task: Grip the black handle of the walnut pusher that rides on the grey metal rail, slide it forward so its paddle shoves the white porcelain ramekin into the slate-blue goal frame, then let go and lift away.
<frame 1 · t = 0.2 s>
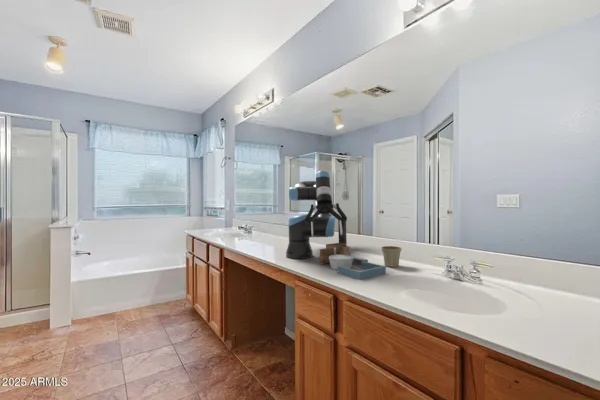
hand: (326, 234, 136), 16 cm above the counter, tool tilted 35°, fingers open, 13 cm apart
goal frame: (360, 272, 126), on the counter
ramekin: (341, 268, 136), on the counter
flower pot: (391, 266, 137), on the counter
pusher: (333, 240, 147), point 11 cm above the counter, slide at 0.0 cm
rail: (351, 262, 145), on the counter
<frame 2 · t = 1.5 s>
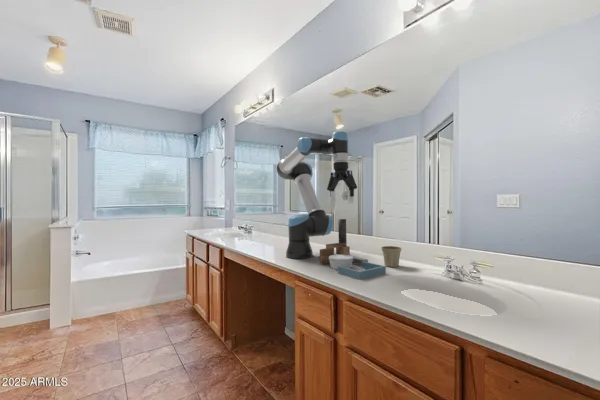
hand: (341, 203, 150), 30 cm above the counter, tool pointing down, fingers open, 13 cm apart
nothing on the counter moved.
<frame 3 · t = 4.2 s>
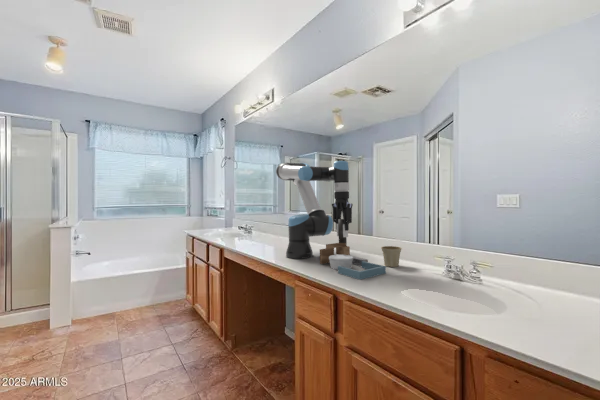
hand: (342, 236, 150), 13 cm above the counter, tool pointing down, fingers closed on pusher, 4 cm apart
pusher: (333, 240, 147), point 11 cm above the counter, slide at 0.0 cm, touching gripper
everything else where it was.
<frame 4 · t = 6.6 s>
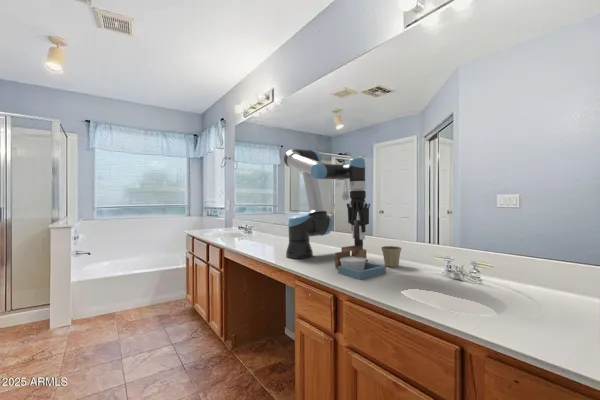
hand: (358, 238, 141), 13 cm above the counter, tool pointing down, fingers closed on pusher, 4 cm apart
ramekin: (353, 271, 130), on the counter, touching pusher
pusher: (349, 243, 137), point 11 cm above the counter, slide at 11.5 cm, touching gripper, ramekin
everything else where it was.
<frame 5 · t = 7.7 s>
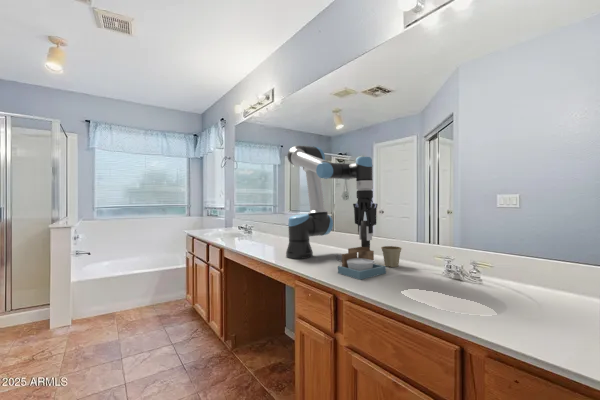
hand: (365, 239, 137), 13 cm above the counter, tool pointing down, fingers closed on pusher, 4 cm apart
ramekin: (360, 273, 126), on the counter
pusher: (356, 244, 134), point 11 cm above the counter, slide at 16.0 cm, touching gripper
everything else where it was.
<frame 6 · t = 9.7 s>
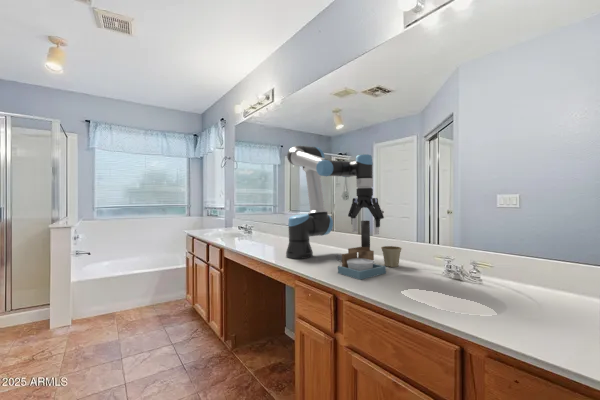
hand: (365, 232, 137), 16 cm above the counter, tool pointing down, fingers open, 13 cm apart
pusher: (356, 244, 134), point 11 cm above the counter, slide at 16.0 cm
everything else where it was.
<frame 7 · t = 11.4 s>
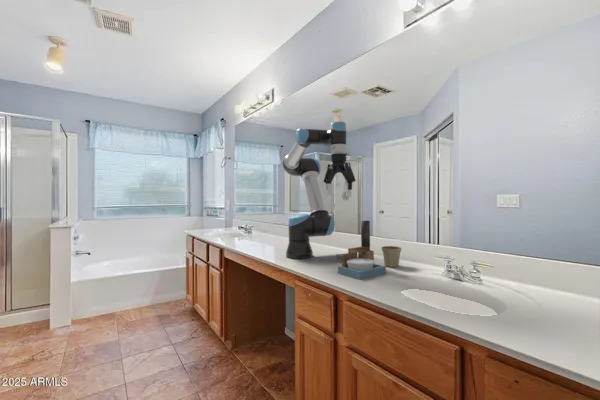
hand: (338, 196, 145), 33 cm above the counter, tool pointing down, fingers open, 13 cm apart
nothing on the counter moved.
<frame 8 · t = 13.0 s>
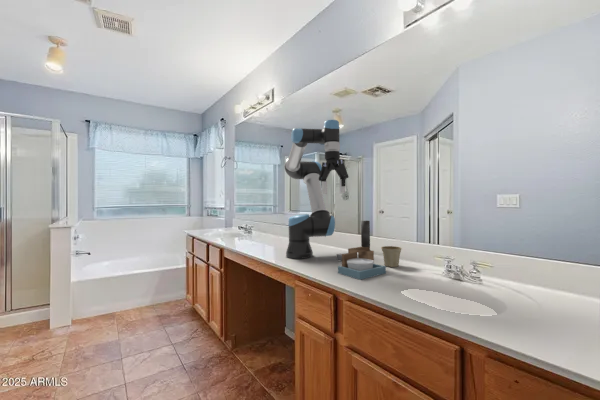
hand: (333, 193, 147), 35 cm above the counter, tool pointing down, fingers open, 13 cm apart
nothing on the counter moved.
at the end: ramekin 0.5 cm from the goal frame (horizontally); ramekin tilted 0°; pusher slide at 16.0 cm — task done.
